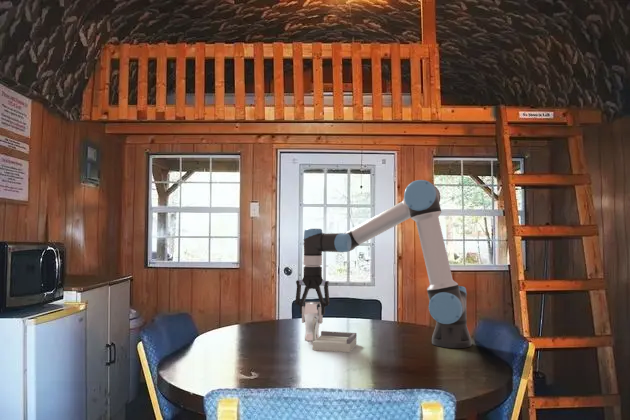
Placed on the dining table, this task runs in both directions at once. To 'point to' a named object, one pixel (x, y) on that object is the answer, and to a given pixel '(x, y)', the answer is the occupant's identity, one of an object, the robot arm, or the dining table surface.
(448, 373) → the dining table surface
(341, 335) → the dock
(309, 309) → the beer glass
